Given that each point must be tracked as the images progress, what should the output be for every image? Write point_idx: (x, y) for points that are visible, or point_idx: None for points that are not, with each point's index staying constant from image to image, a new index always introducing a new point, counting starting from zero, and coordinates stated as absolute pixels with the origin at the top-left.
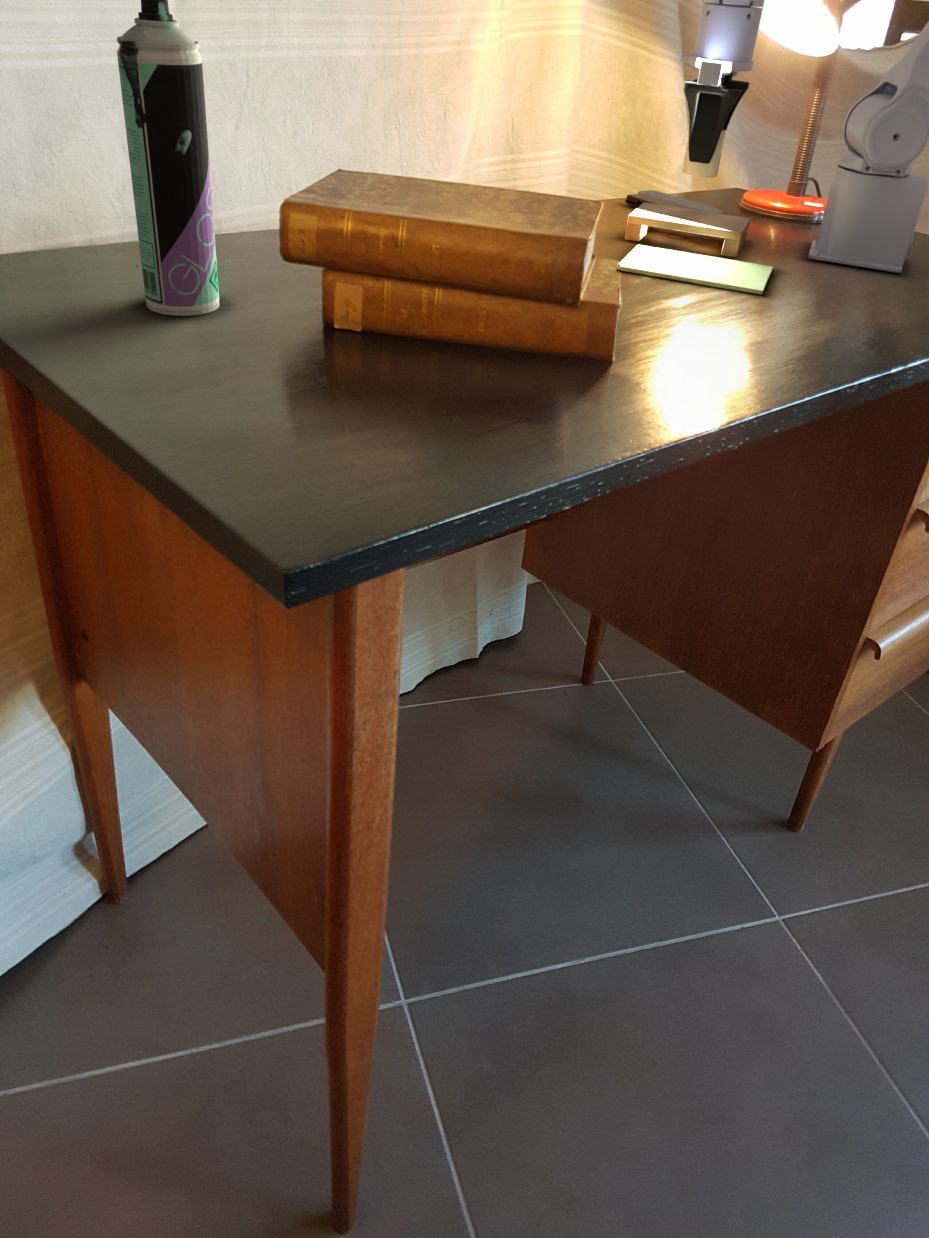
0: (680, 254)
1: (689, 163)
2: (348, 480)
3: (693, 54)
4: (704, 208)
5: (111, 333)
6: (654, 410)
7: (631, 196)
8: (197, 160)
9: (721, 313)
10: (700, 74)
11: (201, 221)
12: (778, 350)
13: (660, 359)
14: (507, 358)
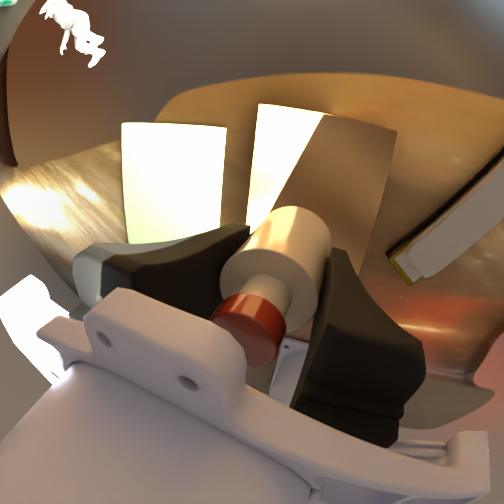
0: (203, 188)
1: (260, 223)
2: None
3: (200, 413)
4: (431, 249)
5: (2, 6)
6: (7, 189)
7: None
8: None
9: (82, 220)
10: (15, 288)
11: None
12: (59, 246)
13: (27, 187)
14: (7, 124)
